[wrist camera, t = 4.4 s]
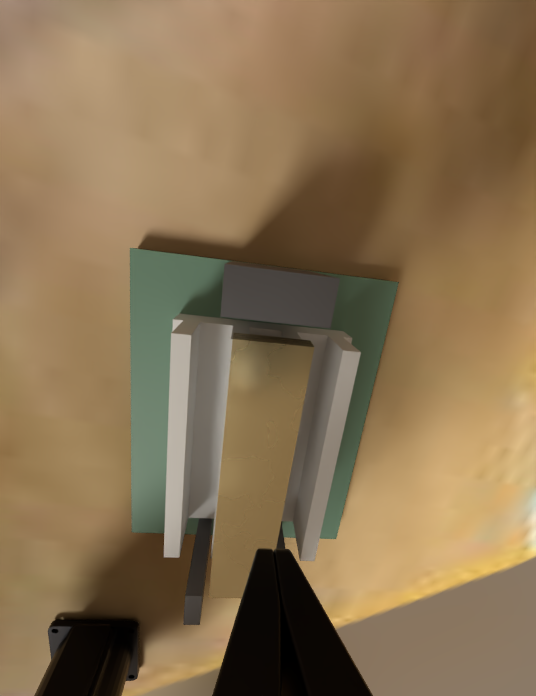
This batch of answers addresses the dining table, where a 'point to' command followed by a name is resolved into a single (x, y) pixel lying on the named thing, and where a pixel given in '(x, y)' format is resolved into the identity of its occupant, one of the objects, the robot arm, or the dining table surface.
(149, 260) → the heatsink board
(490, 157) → the dining table surface
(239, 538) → the wooden plank
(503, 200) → the dining table surface
